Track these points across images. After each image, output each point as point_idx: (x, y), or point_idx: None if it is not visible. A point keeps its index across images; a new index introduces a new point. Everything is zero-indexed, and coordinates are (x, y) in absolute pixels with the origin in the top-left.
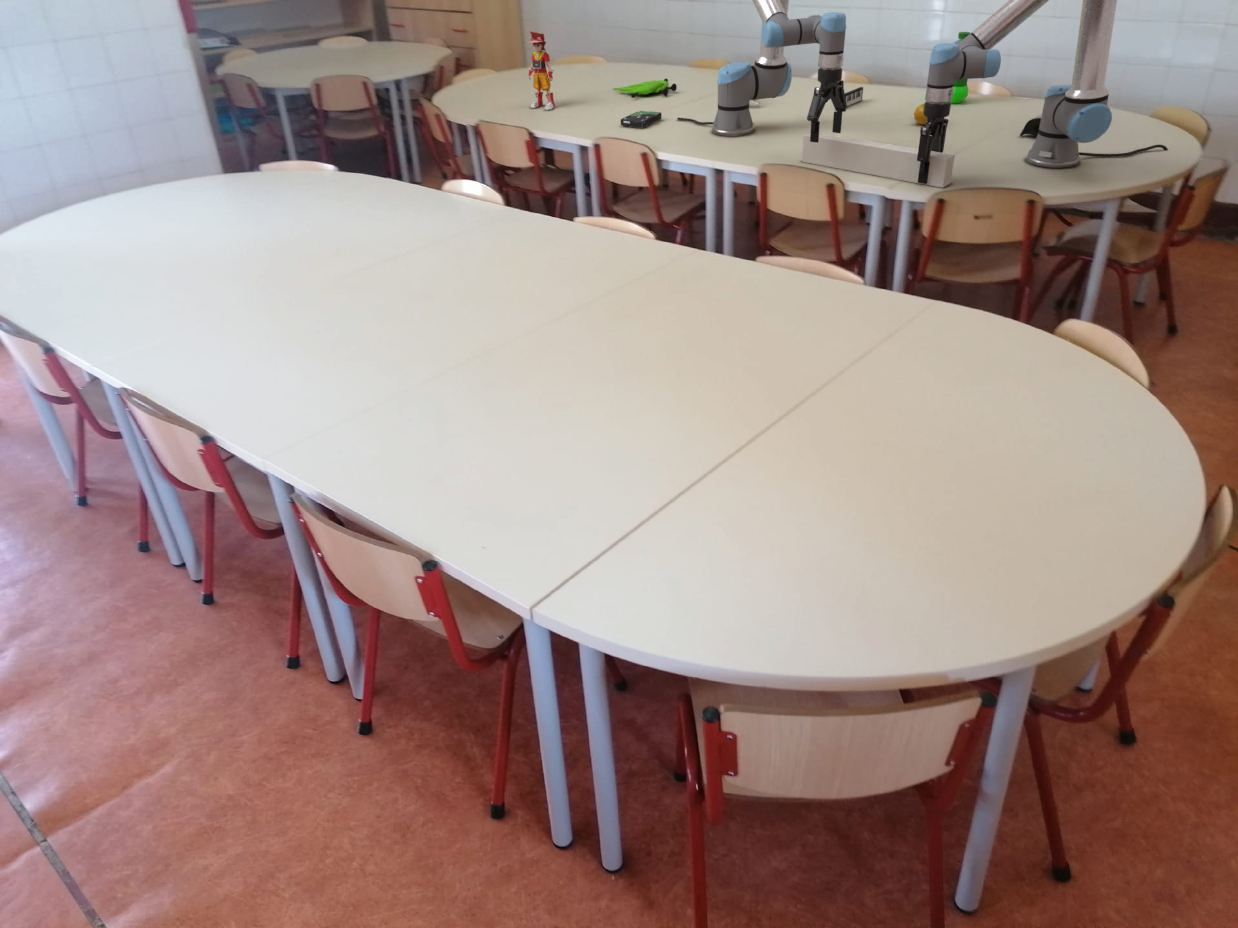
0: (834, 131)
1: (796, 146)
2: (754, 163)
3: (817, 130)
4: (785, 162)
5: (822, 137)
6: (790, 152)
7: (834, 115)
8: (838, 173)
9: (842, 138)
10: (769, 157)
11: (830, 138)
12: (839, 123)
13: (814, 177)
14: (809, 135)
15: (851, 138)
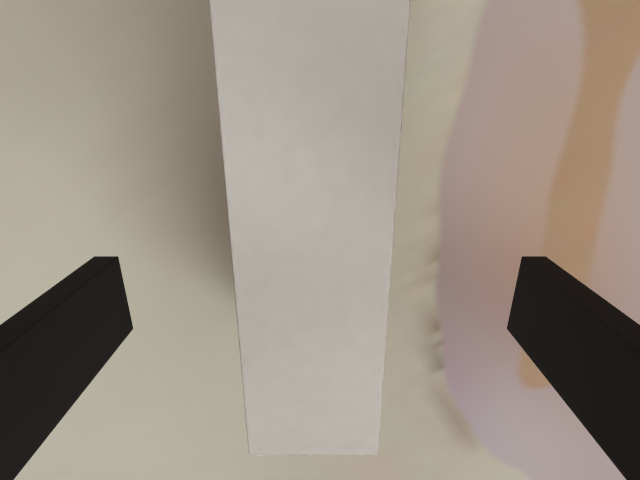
0: (121, 316)
1: (145, 470)
2: (486, 475)
3: (636, 332)
4: (405, 385)
5: (366, 303)
6: (246, 445)
7: (9, 468)
8: (460, 14)
9: (289, 108)
10: (370, 473)
11: (359, 222)
12: (54, 320)
13: (604, 111)
14: (365, 419)
15: (229, 3)
